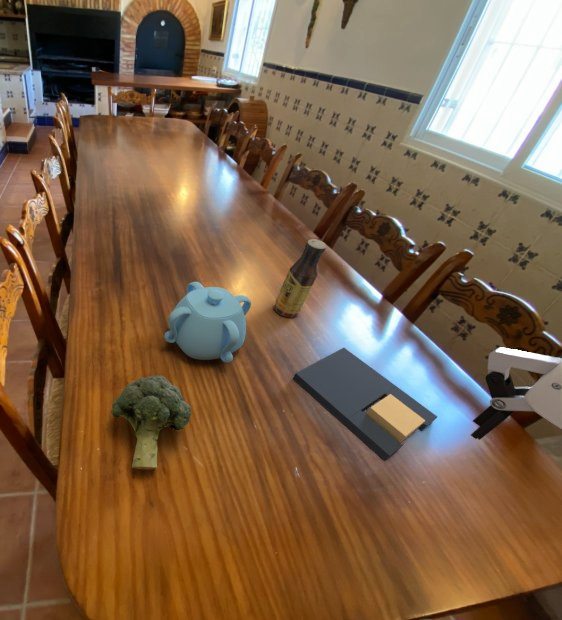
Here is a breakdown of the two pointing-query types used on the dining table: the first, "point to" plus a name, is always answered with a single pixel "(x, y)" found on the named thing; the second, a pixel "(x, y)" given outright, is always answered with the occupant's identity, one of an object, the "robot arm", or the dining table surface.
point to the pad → (395, 417)
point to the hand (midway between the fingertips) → (539, 474)
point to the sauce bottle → (299, 280)
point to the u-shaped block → (356, 397)
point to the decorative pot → (209, 323)
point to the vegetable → (151, 414)
